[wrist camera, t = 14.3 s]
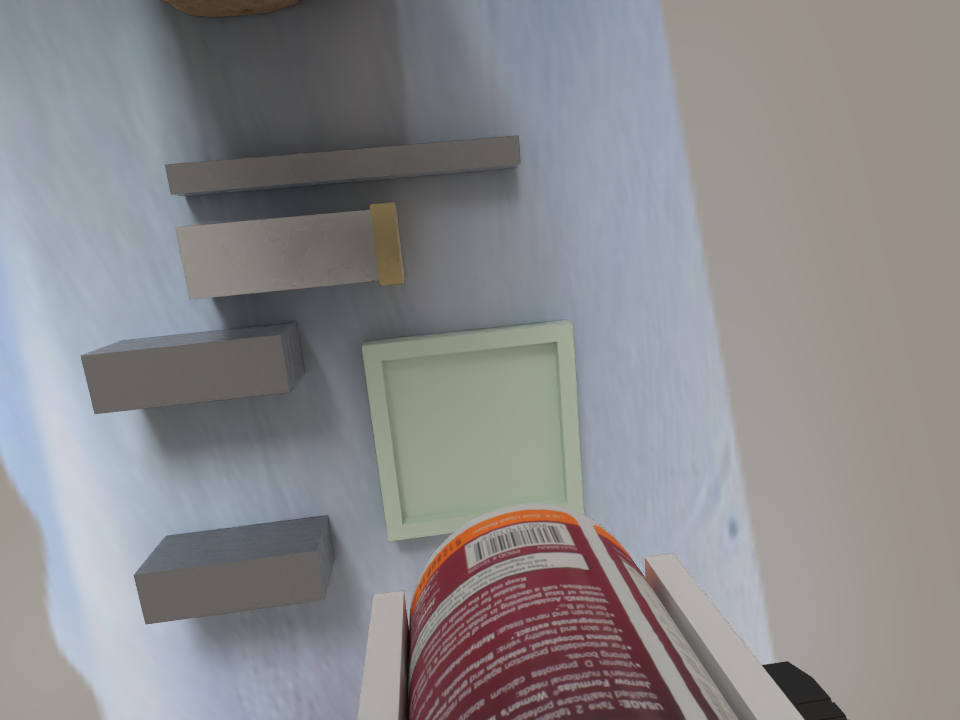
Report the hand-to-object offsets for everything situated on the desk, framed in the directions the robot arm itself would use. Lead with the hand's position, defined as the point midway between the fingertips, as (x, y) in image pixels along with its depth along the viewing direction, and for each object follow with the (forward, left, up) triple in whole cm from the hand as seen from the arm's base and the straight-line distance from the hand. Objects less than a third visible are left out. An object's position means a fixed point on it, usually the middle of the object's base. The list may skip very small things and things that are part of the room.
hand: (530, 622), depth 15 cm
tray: (0, 0, -16) cm, 16 cm away
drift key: (-9, -8, -16) cm, 20 cm away
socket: (0, -12, -16) cm, 20 cm away
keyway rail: (-13, -5, -16) cm, 21 cm away
